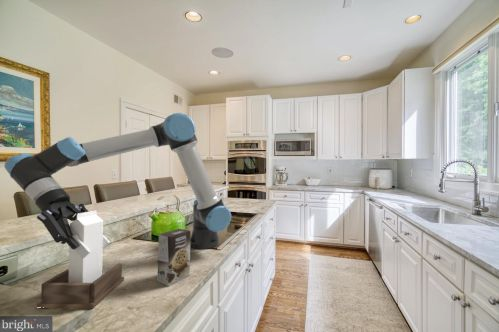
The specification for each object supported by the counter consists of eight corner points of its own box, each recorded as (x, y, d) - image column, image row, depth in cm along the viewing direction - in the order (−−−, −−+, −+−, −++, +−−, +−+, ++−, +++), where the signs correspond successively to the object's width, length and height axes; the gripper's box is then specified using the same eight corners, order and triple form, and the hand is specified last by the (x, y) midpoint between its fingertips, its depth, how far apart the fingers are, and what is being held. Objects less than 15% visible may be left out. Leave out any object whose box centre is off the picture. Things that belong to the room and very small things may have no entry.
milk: (68, 287, 64) (69, 213, 64) (88, 277, 70) (89, 209, 70) (82, 291, 62) (83, 214, 62) (102, 280, 68) (103, 210, 68)
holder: (124, 280, 73) (124, 262, 74) (92, 308, 58) (93, 285, 59) (79, 280, 73) (79, 261, 73) (36, 308, 58) (37, 285, 58)
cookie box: (169, 287, 70) (170, 236, 70) (156, 281, 73) (157, 233, 73) (190, 275, 77) (191, 230, 78) (178, 270, 81) (179, 227, 81)
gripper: (69, 199, 77) (111, 246, 76) (2, 210, 57) (57, 274, 56) (84, 185, 77) (126, 232, 76) (21, 190, 57) (77, 254, 56)
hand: (97, 249), depth 66 cm, fingers closed on milk, 7 cm apart
